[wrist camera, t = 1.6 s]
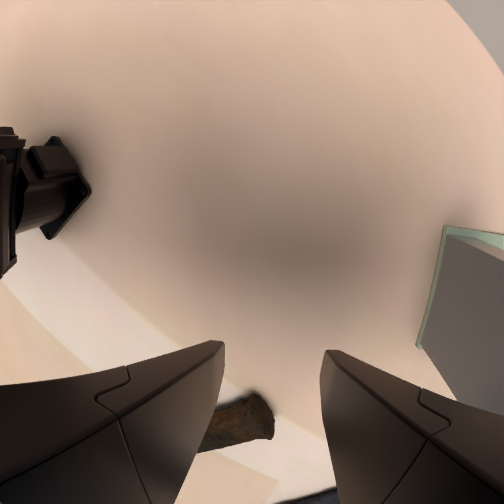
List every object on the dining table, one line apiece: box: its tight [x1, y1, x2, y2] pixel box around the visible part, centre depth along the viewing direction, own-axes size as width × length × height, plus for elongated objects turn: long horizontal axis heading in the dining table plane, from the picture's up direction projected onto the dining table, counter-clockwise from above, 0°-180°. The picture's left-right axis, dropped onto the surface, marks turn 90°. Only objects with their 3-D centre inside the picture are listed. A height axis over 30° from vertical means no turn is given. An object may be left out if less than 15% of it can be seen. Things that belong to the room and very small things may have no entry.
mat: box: [416, 225, 504, 349], centre depth 20 cm, size 14×10×1 cm
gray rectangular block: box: [420, 234, 504, 416], centre depth 14 cm, size 3×9×12 cm, turn 177°
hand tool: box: [197, 394, 275, 453], centre depth 24 cm, size 19×4×5 cm, turn 118°
